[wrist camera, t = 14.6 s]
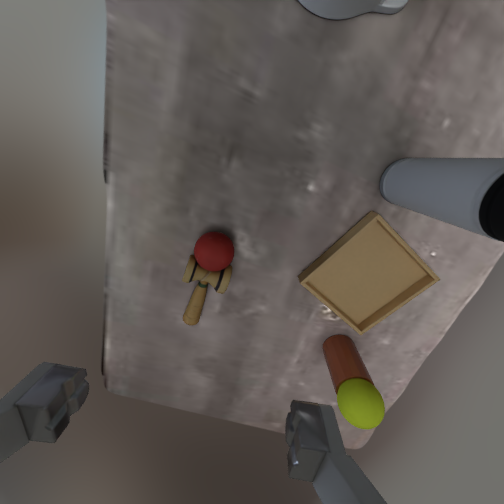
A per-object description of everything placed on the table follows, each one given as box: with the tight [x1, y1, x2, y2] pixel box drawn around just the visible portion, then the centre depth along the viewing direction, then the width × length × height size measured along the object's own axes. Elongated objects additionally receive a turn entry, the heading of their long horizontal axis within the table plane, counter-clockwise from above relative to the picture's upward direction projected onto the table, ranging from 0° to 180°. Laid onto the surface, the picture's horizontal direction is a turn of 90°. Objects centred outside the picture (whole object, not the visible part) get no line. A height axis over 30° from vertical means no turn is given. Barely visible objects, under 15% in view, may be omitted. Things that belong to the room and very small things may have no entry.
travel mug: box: [380, 158, 504, 242], centre depth 24 cm, size 6×7×20 cm
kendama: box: [182, 232, 234, 325], centre depth 38 cm, size 8×6×18 cm
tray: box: [298, 211, 440, 335], centre depth 38 cm, size 15×15×2 cm
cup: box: [323, 335, 374, 394], centre depth 41 cm, size 6×6×9 cm
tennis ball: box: [337, 378, 385, 429], centre depth 35 cm, size 6×6×6 cm
